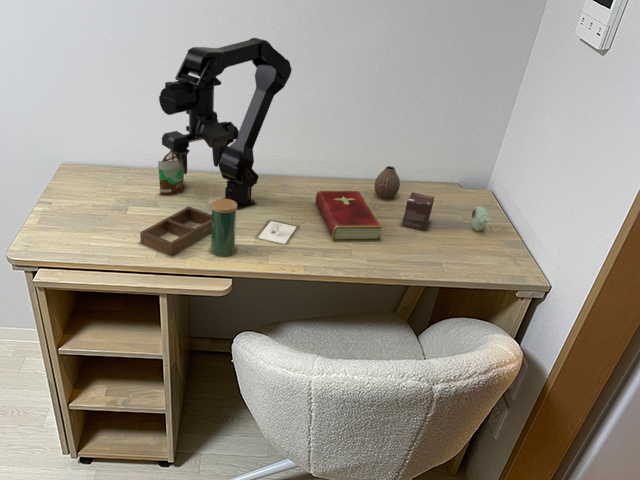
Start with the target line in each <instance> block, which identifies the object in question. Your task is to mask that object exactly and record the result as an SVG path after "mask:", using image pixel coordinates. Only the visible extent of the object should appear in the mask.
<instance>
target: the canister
mask: <svg viewBox="0 0 640 480" xmlns="http://www.w3.org/2000/svg"><path fill="white" fill-rule="evenodd" d="M237 210H238V208H237V203H236V202H235V201H233V200H230V199H223V198H217V199H214V200H213V201H212V202H211V215H212V227H211V233H210V252H211V253H212V254H213V255H215V256H217V257H218V256H219V257H229V256H232V255H233V254H235V250H236V249H235V248H236V230H237Z"/></svg>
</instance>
